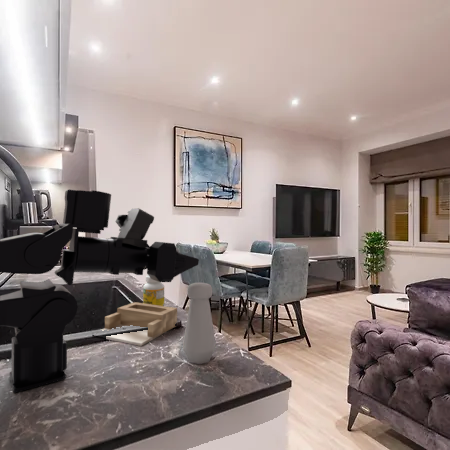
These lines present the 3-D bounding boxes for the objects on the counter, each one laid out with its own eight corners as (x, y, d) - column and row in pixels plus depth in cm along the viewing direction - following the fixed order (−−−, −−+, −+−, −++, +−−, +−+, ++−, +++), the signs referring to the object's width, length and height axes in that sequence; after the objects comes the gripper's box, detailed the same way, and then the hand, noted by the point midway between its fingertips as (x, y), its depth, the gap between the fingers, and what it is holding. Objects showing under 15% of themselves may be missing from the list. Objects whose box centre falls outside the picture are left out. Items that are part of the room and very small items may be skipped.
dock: (141, 346, 59) (141, 325, 59) (91, 335, 64) (92, 316, 64) (177, 325, 71) (177, 308, 71) (133, 318, 76) (134, 302, 76)
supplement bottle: (168, 312, 81) (168, 275, 81) (151, 317, 77) (152, 278, 77) (155, 308, 85) (155, 273, 85) (138, 312, 81) (139, 275, 81)
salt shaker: (218, 352, 56) (218, 281, 56) (213, 367, 51) (214, 287, 51) (186, 350, 57) (187, 280, 57) (178, 365, 51) (179, 286, 51)
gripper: (128, 205, 45) (216, 218, 54) (95, 209, 60) (169, 218, 69) (119, 282, 44) (210, 282, 53) (88, 267, 59) (163, 269, 68)
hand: (186, 259), depth 61 cm, fingers open, 9 cm apart
